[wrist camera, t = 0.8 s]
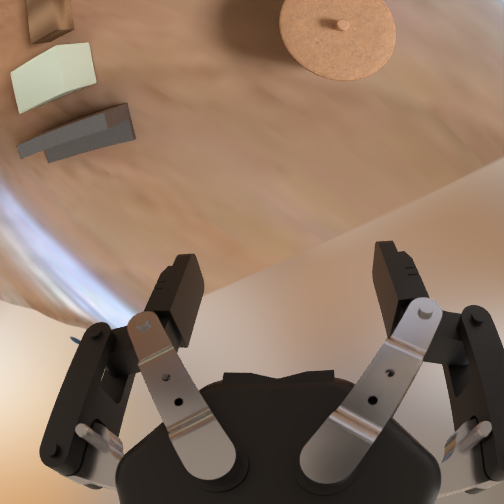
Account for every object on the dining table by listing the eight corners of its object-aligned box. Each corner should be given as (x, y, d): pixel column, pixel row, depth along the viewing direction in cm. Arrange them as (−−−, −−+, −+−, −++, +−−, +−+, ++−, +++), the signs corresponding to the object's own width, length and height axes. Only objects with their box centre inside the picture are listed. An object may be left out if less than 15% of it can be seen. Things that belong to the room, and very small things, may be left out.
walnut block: (44, -24, 22) (24, -26, 18) (68, -38, 21) (49, -42, 17) (51, 41, 28) (31, 44, 25) (75, 29, 28) (55, 29, 24)
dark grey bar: (41, 132, 36) (16, 146, 31) (127, 103, 34) (103, 112, 29) (50, 161, 39) (27, 177, 34) (135, 138, 37) (114, 153, 32)
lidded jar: (260, 17, 27) (253, 3, 19) (341, -22, 23) (359, -45, 15) (312, 91, 32) (322, 102, 24) (390, 54, 28) (422, 55, 20)
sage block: (43, 64, 30) (10, 72, 24) (88, 42, 29) (56, 45, 23) (51, 101, 33) (19, 114, 28) (96, 82, 32) (65, 91, 26)
